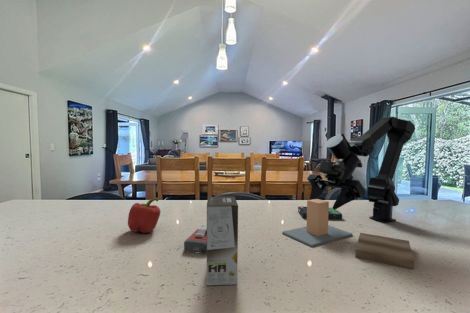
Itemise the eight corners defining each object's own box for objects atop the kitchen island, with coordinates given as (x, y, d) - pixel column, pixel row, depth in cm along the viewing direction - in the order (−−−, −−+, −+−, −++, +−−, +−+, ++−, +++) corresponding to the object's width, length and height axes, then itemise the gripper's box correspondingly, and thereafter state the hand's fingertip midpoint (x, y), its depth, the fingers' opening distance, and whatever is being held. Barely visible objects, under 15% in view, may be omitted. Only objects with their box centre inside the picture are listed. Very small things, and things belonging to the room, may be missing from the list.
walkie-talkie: (213, 257, 64) (231, 231, 83) (213, 240, 63) (231, 217, 83) (180, 254, 65) (205, 229, 85) (180, 237, 65) (205, 216, 85)
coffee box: (238, 285, 51) (239, 205, 50) (206, 286, 50) (206, 205, 49) (234, 263, 60) (235, 195, 59) (207, 264, 59) (207, 196, 59)
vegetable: (149, 223, 89) (149, 195, 89) (169, 229, 83) (169, 199, 83) (120, 231, 80) (119, 200, 80) (139, 239, 74) (139, 205, 74)
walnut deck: (359, 239, 76) (360, 232, 76) (408, 247, 70) (408, 240, 70) (355, 257, 64) (355, 249, 64) (413, 269, 58) (414, 260, 58)
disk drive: (302, 220, 96) (342, 220, 96) (302, 213, 96) (342, 213, 96) (297, 212, 107) (333, 213, 106) (297, 206, 107) (333, 206, 106)
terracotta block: (316, 229, 83) (317, 198, 82) (327, 233, 79) (328, 201, 78) (306, 231, 80) (307, 200, 80) (317, 236, 76) (318, 203, 76)
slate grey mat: (321, 224, 89) (321, 223, 89) (352, 235, 79) (352, 233, 79) (282, 233, 80) (282, 231, 80) (311, 247, 70) (311, 244, 70)
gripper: (311, 151, 90) (287, 184, 85) (360, 152, 74) (334, 194, 69) (326, 171, 94) (304, 205, 89) (375, 177, 78) (352, 218, 73)
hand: (321, 205), depth 80 cm, fingers open, 9 cm apart
